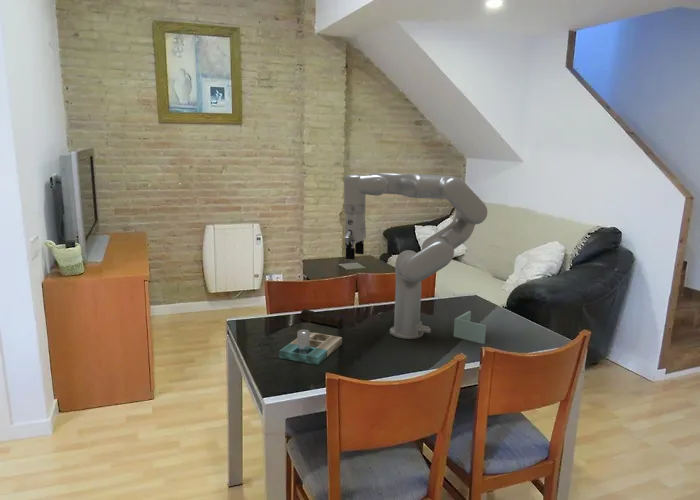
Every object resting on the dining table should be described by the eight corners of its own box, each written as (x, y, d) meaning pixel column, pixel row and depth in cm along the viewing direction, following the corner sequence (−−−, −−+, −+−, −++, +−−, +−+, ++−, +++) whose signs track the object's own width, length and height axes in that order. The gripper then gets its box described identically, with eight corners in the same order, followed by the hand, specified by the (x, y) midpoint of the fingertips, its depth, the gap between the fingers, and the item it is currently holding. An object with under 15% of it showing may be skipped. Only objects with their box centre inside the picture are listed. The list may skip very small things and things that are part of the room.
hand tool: (344, 326, 205) (344, 315, 204) (338, 329, 201) (338, 317, 201) (304, 318, 214) (304, 307, 213) (298, 320, 211) (298, 309, 210)
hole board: (341, 343, 186) (342, 337, 186) (317, 365, 168) (318, 357, 167) (306, 338, 191) (306, 331, 191) (279, 357, 173) (279, 350, 173)
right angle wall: (483, 345, 189) (485, 325, 187) (453, 337, 196) (454, 318, 195) (496, 336, 198) (498, 317, 197) (467, 329, 205) (468, 311, 204)
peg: (311, 356, 175) (311, 330, 173) (306, 360, 171) (306, 334, 170) (300, 354, 176) (300, 328, 175) (295, 358, 173) (295, 332, 171)
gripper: (356, 212, 178) (356, 262, 181) (372, 207, 194) (372, 252, 197) (336, 211, 180) (336, 260, 184) (353, 206, 196) (353, 251, 200)
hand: (354, 256), depth 190 cm, fingers open, 9 cm apart
